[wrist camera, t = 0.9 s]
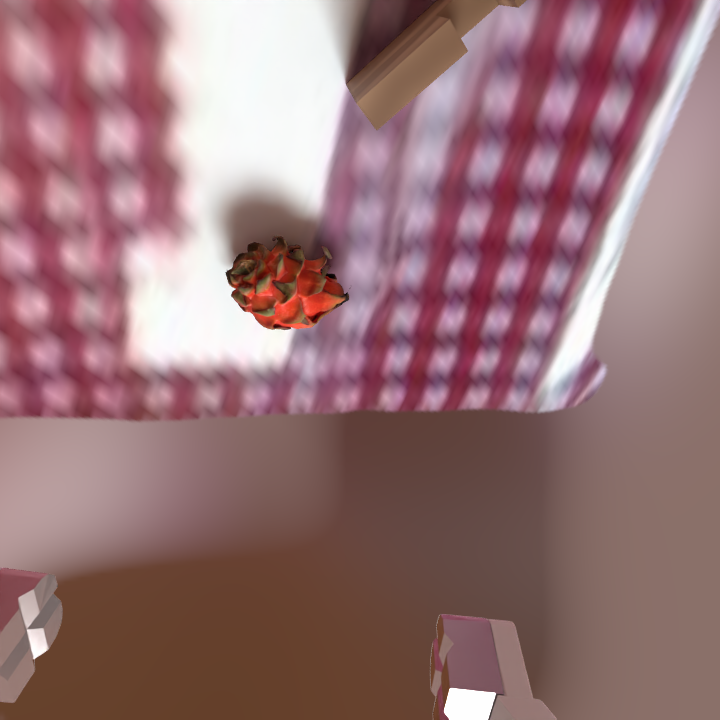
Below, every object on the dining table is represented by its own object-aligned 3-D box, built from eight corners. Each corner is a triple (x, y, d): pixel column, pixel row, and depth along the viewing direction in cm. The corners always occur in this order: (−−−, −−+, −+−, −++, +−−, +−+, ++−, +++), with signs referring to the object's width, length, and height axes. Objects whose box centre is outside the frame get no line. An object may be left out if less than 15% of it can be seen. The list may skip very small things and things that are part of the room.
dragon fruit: (222, 236, 52) (335, 262, 57) (210, 322, 52) (324, 340, 57) (240, 218, 44) (369, 250, 49) (226, 318, 44) (356, 340, 49)
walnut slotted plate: (345, 84, 44) (356, 103, 38) (559, -113, 38) (615, -131, 32) (363, 108, 45) (376, 130, 39) (573, -79, 39) (629, -90, 33)
